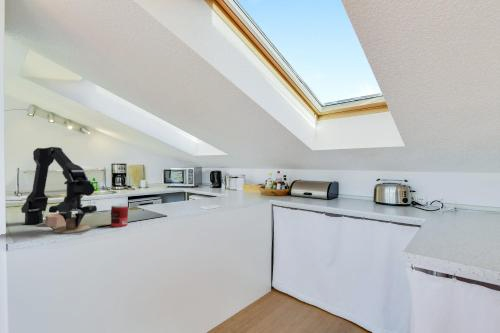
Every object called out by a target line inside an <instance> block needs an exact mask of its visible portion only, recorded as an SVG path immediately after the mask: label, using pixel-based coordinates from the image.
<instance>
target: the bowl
mask: <svg viewBox="0 0 500 333" xmlns="http://www.w3.org/2000/svg"><path fill="white" fill-rule="evenodd" d="M44 224H45V226H46V227H49V228H51V227H55V228H58V227H64V226H66V222H65V219H64V218H63V216H62V215H60V214H58V213H51V214H48V215H45V221H44Z"/></svg>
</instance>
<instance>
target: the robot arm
mask: <svg viewBox="0 0 500 333" xmlns="http://www.w3.org/2000/svg"><path fill="white" fill-rule="evenodd" d="M32 154H33V161H34V163H35V164H36V166H35V171H34V178H33V185H32V191H31V193H30V194H29V195H27V197H26V200H25V202H24V204H23V205H22V206H21V208H20V210H21V213H22V214H24V223H23V222H22V223H21V225H22V226H23V225H26V226H27V225H28V226H31V225H32V226H35V225H36V226H37V225H39V224H42V223H43V224H44V223H45V221H44V214H43V212H46V210H47V207H48V201H49V197H48V196H47V195H46V194H45V190H46V184H47V180H48V179H47V178H48V173H49V167H50V166H51V164H53V163H54V161H55V162H56V163H57V164H58V165H59V166H60V168H61V169H62V175H63V177H64V179H66V181H64V185H66V193H65V194H66V195H65V196H64V199H63V201H61V202H60V203H58V204H56V205H52V206H51V205H50V207H49V208H48V213H51V214H60V215H62V216H63V218H64V219H65V222H66V219H68V218H71V217H73V212H76V213H74V216H75V217H76V227H78V226H79V224H80V225H81V222H82V220H83V218H84V217H85V216H86V214H92V213H95V212H97V211H98V210H97V209H98V208H97V206H96V205H94V204H93V205H92V204H91V205H84V206H83V203H82V199H83V196H91V195H92V194H94V192H95V186H94V185H93V183H91V180H89V178H88V176H87V175H86V174H87V173H86V172H85V170H84V168H83V167H81V166H80V165H77V164H75V163H73V162H72V161H71V159H70V158H69V156H67V155H66V153H65V152H64V151H63V149H62V147H59V146H57V147H56V146H50V147H43V148H42V147H37V148H35V149H34V150H33V151H32ZM57 212H58V213H57Z"/></svg>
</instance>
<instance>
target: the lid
mask: <svg viewBox="0 0 500 333" xmlns="http://www.w3.org/2000/svg"><path fill="white" fill-rule="evenodd" d="M90 226H91V225H86V224H81V223H80V224H79V226H78V227H76V216H72V217H71V218H68V219H66V225H65V226H59V227H56V228H55V229H53V230H54V232H55V233H58V234H71V233H79V232H84V231H87V230H90ZM90 231H91V230H90Z"/></svg>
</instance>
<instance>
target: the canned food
mask: <svg viewBox="0 0 500 333" xmlns="http://www.w3.org/2000/svg"><path fill="white" fill-rule="evenodd" d="M110 207H111V210H110V226H111V228H124V227H127V226H128V224H129V223H128V220H129V218H128V217H129V204H128V203H127V204H126V203H118V204H117V203H116V204H115V203H114V204H111V206H110Z"/></svg>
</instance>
